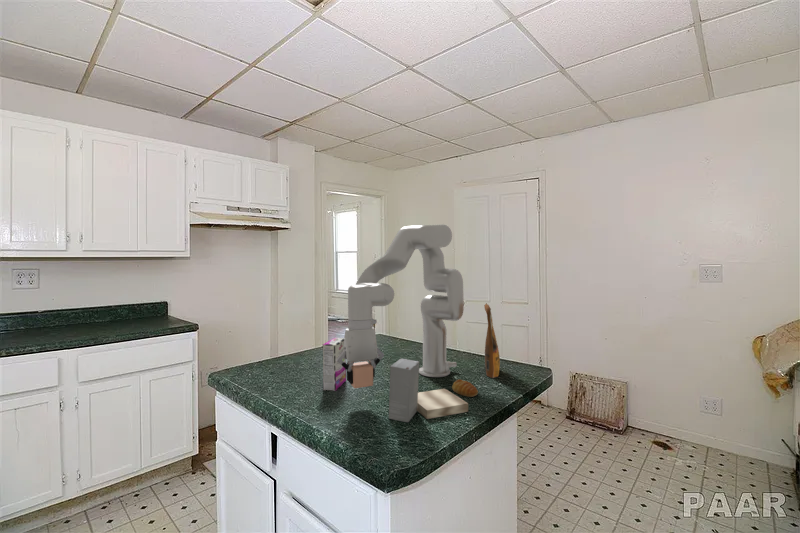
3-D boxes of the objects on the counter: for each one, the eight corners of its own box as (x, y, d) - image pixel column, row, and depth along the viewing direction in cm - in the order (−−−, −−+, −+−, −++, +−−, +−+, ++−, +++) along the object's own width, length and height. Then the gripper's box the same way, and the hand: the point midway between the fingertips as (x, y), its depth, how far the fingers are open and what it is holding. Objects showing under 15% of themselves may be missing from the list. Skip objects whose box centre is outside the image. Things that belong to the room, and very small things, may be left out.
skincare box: (398, 408, 115) (398, 357, 115) (420, 412, 112) (420, 360, 112) (387, 419, 107) (387, 364, 107) (410, 423, 104) (410, 367, 104)
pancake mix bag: (481, 378, 145) (481, 306, 144) (484, 365, 163) (484, 301, 162) (499, 380, 143) (500, 307, 142) (500, 366, 161) (500, 301, 161)
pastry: (483, 395, 127) (483, 384, 127) (468, 400, 123) (469, 388, 123) (463, 387, 135) (463, 377, 135) (449, 391, 131) (449, 380, 131)
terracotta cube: (367, 379, 122) (366, 361, 121) (373, 385, 116) (372, 366, 116) (349, 382, 119) (348, 363, 119) (354, 388, 114) (354, 368, 113)
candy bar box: (333, 380, 141) (334, 337, 141) (346, 381, 140) (346, 337, 140) (321, 390, 130) (322, 343, 130) (335, 391, 129) (335, 344, 129)
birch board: (444, 395, 126) (444, 388, 126) (468, 411, 113) (468, 403, 113) (407, 401, 120) (407, 394, 120) (427, 419, 108) (427, 410, 108)
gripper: (382, 320, 124) (382, 374, 124) (330, 324, 117) (331, 381, 118) (390, 324, 117) (390, 381, 118) (336, 328, 110) (336, 389, 111)
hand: (360, 380), depth 118 cm, fingers closed on terracotta cube, 6 cm apart
